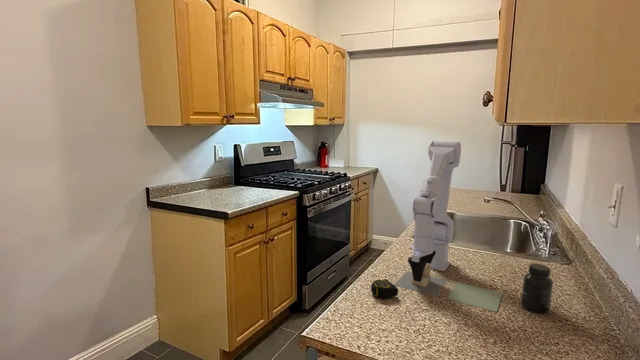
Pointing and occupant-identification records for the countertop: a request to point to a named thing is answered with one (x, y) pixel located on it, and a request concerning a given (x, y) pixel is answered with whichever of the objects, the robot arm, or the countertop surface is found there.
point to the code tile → (430, 289)
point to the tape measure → (383, 289)
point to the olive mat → (475, 296)
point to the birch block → (424, 276)
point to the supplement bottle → (537, 289)
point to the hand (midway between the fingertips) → (421, 276)
